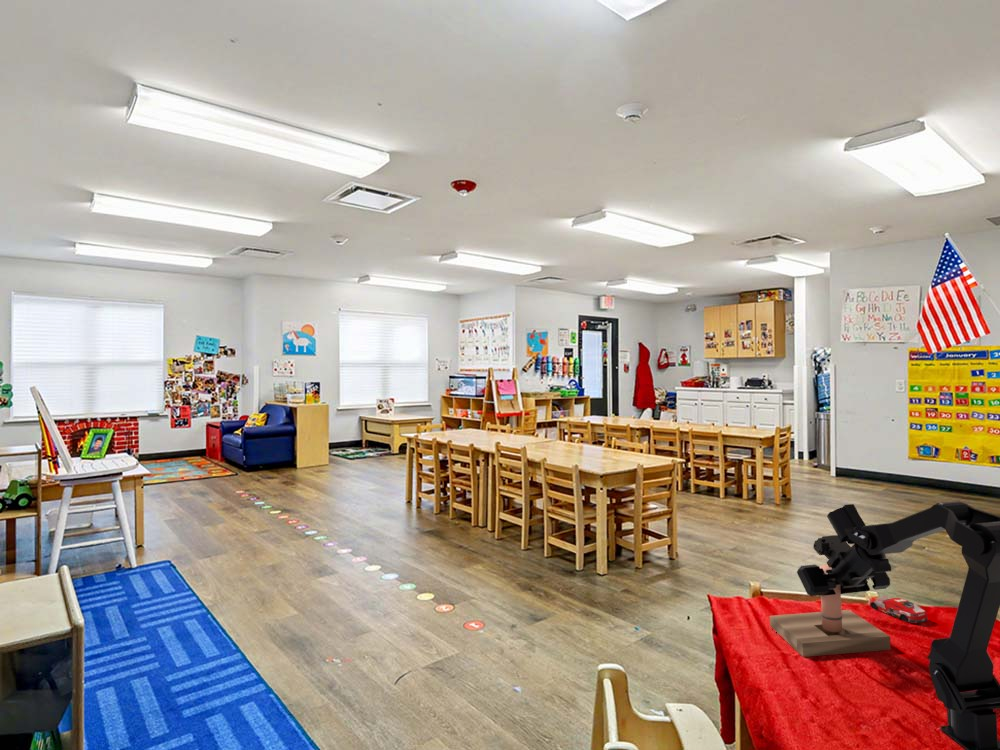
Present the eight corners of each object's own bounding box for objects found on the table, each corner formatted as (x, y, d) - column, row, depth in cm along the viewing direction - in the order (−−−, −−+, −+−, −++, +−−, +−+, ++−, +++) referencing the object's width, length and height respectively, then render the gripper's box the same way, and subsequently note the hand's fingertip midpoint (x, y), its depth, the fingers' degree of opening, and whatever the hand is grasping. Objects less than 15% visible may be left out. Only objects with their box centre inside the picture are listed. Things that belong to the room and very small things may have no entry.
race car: (865, 606, 152) (864, 591, 152) (880, 603, 153) (879, 587, 153) (915, 627, 139) (914, 611, 139) (931, 623, 141) (930, 606, 141)
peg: (843, 633, 131) (840, 571, 130) (822, 630, 133) (819, 569, 132) (842, 625, 134) (839, 565, 134) (821, 623, 136) (818, 563, 136)
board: (890, 649, 129) (889, 636, 129) (802, 656, 128) (802, 643, 128) (849, 621, 143) (848, 609, 143) (770, 628, 142) (769, 615, 142)
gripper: (878, 524, 130) (846, 557, 141) (800, 531, 128) (773, 564, 139) (908, 571, 122) (871, 602, 134) (825, 579, 120) (795, 610, 132)
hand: (826, 593), depth 135 cm, fingers closed on peg, 4 cm apart
